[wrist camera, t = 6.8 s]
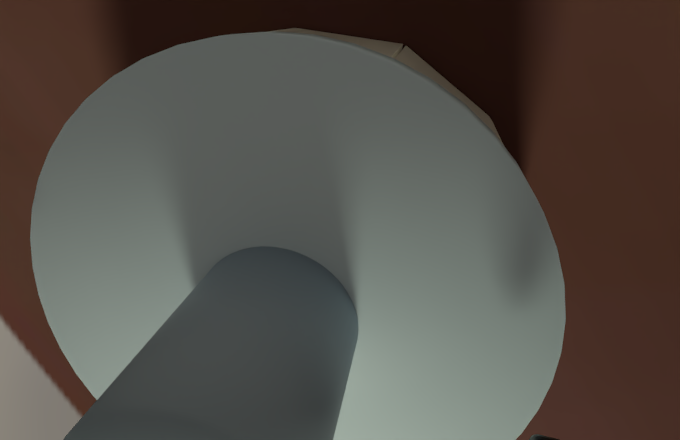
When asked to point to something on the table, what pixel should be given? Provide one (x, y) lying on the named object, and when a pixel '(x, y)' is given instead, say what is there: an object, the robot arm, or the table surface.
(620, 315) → the table surface
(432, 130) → the lid
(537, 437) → the robot arm
